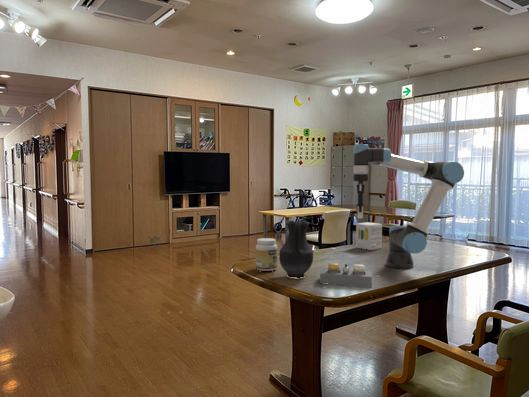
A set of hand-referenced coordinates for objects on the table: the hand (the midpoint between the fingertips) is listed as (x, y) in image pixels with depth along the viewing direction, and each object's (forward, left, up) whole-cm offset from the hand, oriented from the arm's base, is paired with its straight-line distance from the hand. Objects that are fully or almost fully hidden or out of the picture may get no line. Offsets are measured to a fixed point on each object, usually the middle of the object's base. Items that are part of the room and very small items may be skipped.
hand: (360, 218), depth 210 cm
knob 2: (0, +21, -28) cm, 35 cm away
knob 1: (+12, +21, -28) cm, 37 cm away
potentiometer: (+6, +24, -24) cm, 34 cm away
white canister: (-5, -74, -30) cm, 80 cm away
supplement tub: (+50, +6, -30) cm, 58 cm away
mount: (+6, +21, -29) cm, 37 cm away
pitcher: (+31, +19, -30) cm, 47 cm away
